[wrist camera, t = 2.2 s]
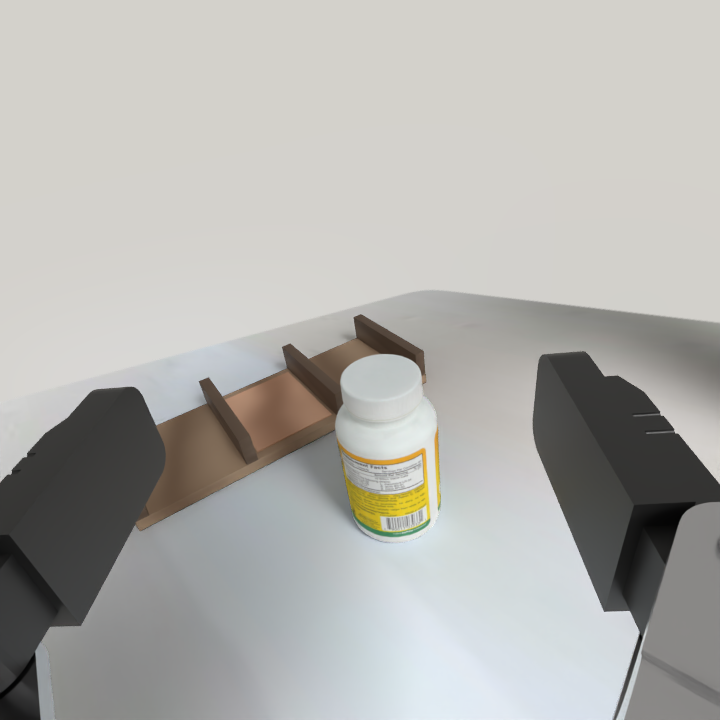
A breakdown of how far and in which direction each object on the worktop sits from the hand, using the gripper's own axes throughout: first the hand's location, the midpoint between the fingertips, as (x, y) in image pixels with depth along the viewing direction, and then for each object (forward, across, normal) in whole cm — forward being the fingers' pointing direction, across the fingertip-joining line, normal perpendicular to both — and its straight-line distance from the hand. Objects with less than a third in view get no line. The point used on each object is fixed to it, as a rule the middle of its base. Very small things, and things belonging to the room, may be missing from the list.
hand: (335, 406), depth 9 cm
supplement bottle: (+12, 0, +17) cm, 20 cm away
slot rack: (+21, +9, +16) cm, 28 cm away
